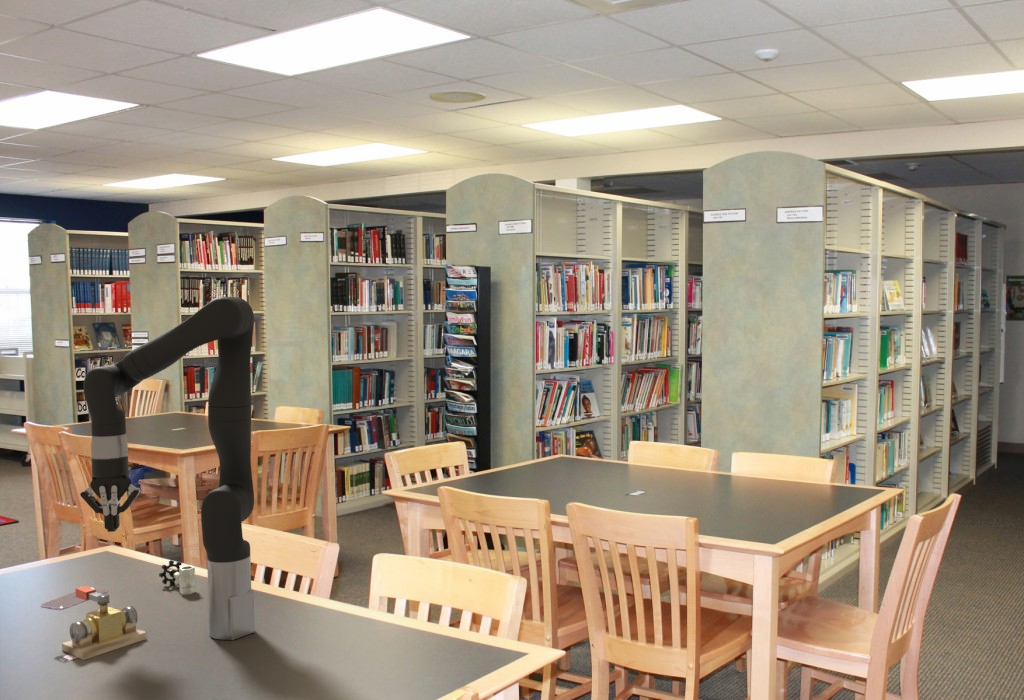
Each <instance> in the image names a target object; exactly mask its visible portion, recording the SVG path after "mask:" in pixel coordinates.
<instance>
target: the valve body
mask: <svg viewBox="0 0 1024 700" xmlns="http://www.w3.org/2000/svg"><path fill="white" fill-rule="evenodd" d="M108 605H109V603H108V604H104V605H99V609H97V610H93V611H90V612H87V613H85V618H84V620H80V621H77V622H74V623H71V624H70V625H69V636H70V639H71V641H73V642H74V643H79V642H80V640H81V639H84V638H87V636H88V635H92V641H93V642H96V643H98V644H101V643H104V642H107V641H111V640H114V639H117V638H120V637H123V632H122V629H124V628H125V627H126V623H129V622H130V624H132V623H135V622H136V624H137V623H138V617H139V616H138V613H137V612H138V611H137V610H136V608H135V607H134V606H132V605H130V606H126V607H123V608H122V609H121V608H119V609H118V608H114V607H110V606H108Z"/></svg>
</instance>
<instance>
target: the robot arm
mask: <svg viewBox="0 0 1024 700" xmlns="http://www.w3.org/2000/svg"><path fill="white" fill-rule="evenodd" d="M254 326H255V315H254V310H253V309H252V306H251V305H250V303H249V302H248V301H247V300H245V299H243V298H242V297H237V296H219V297H215V298H214V299H212V300H210V301H209V302H207V304H205V305H204V306H203V307H201V308H200V309H199V310H197V311H196V312H195V313H194V314H192V315H191V316H189V317H188V318H187V319H185V320H184V321H182V322H181V323H180V324H178V325H176V326H175V327H173V328H171V329H169V330H168V331H166V332H164V333H163V334H160V335H159V336H156V337H155V338H153V339H151V340H149V341H147V342H145V343H143V344H141V345H139V346H137V347H135V348H134V349H132V350H130V351H129V352H127V353H126V354H125V355H124V356H123V358H122V359H121V360H119V361H117V362H115V363H113V364H110V365H105V366H96V367H94V368H91V369H90V370H88V372H87V373H86V375H85V377H84V380H83V394H84V398H85V402H86V405H87V408H88V411H89V414H90V417H91V421H90V423H91V425H90V426H91V442H90V454H91V455H90V458H91V459H90V460H91V461H90V462H91V480H90V484H89V487H88V488H87V489H85V490H83V491H81V492H80V493H79V495H80V497H81V498H82V499H83V500H84V502H85V503H87V505H88V506H89V507H90V508H91V509H92V511H94V512H95V513H96V514H101V515H103V519H104V520H103V521H104V529H105V530H107V532H108V533H111V532H112V533H113V532H116V531H118V529H119V528H120V524H121V523H120V521H121V520H120V513H125V511H127V510H128V509H129V508H130V506H132V504H133V503H134V501H135V500H136V499H137V497H138V496H139V495H140V494H141V492H142V489H141V488H140V487H136V486H135V485H133V484H132V480H131V478H130V475H129V474H130V472H129V471H130V470H129V446H128V445H129V444H128V439H127V427H126V425H127V423H126V421H127V420H126V413H125V411H124V409H122V408H120V407H118V405H117V400H116V397H118V396H120V395H123V394H125V393H126V392H128V391H130V390H132V389H133V388H134V387H136V386H138V385H139V384H140V383H141V382H143V381H144V380H148V378H151V377H153V376H154V375H156V374H158V373H160V372H162V371H164V370H165V369H168V368H170V367H171V366H173V365H174V364H175V363H177V362H178V361H179V360H180V359H181V358H183V357H184V356H185V355H187V354H188V353H190V352H191V351H193V350H195V349H197V348H199V347H201V346H203V345H206V344H208V343H209V344H210V343H211V342H215V341H218V343H217V345H218V359H217V365H216V369H215V372H214V375H213V379H212V382H211V385H210V389H209V392H208V397H207V398H208V400H207V423H208V431H209V434H210V438H211V441H212V443H213V446H214V448H215V451H216V453H217V456H218V461H219V479H218V480H219V483H218V487H217V488H215V489H213V490H211V491H209V492H208V493H207V494H205V496H204V498H203V499H202V503H201V508H200V521H201V534H202V544H203V547H204V549H205V552H206V558H207V562H206V564H207V565H206V566H207V596H208V598H207V599H208V623H209V626H208V627H209V631H208V632H209V636H210V638H213V639H214V640H215V639H216V640H230V641H234V640H237V639H239V638H243V637H245V636H248V635H251V634H254V633H255V632H256V623H255V621H256V620H255V616H256V615H255V614H256V613H255V591H254V590H252V571H251V570H252V565H251V564H252V563H251V562H252V561H251V544H250V542H249V540H246V539H244V536H243V526H242V525H243V524H242V523H243V522H244V521H246V520H247V519H248V518H249V517H250V516H251V514H252V513H253V510H254V507H255V491H254V484H253V483H254V481H253V475H252V465H251V464H252V459H251V458H252V457H251V456H252V455H251V454H252V453H251V452H252V448H251V447H252V391H251V390H252V373H251V356H252V354H251V353H252V344H253V334H254V328H255V327H254ZM126 493H127V494H128V497H127V499H126V500H125V501H124V502H123V504H122V503H121V502H122V497H124V496H125V494H126ZM95 495H96V496H97V498H99V499H100V500H101V501H99V500H98V499H97V498H96V497H95ZM121 504H122V505H121Z"/></svg>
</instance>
